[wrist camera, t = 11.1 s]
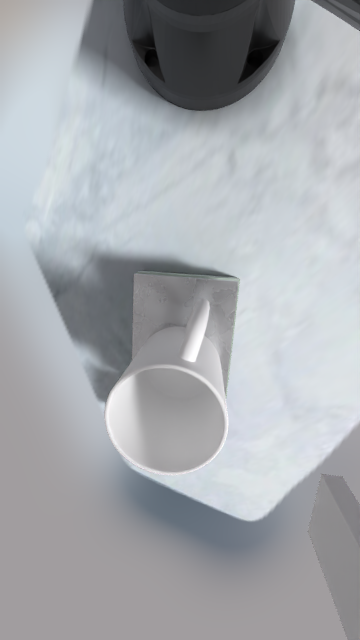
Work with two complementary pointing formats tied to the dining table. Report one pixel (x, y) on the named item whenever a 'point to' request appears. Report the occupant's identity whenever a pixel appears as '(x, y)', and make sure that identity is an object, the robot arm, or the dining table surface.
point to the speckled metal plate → (184, 309)
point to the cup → (171, 401)
